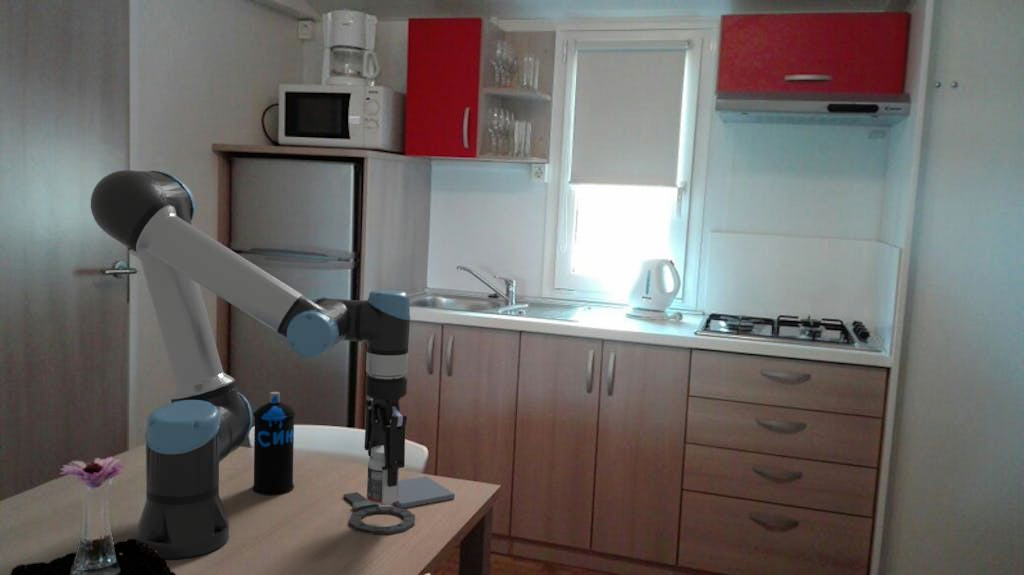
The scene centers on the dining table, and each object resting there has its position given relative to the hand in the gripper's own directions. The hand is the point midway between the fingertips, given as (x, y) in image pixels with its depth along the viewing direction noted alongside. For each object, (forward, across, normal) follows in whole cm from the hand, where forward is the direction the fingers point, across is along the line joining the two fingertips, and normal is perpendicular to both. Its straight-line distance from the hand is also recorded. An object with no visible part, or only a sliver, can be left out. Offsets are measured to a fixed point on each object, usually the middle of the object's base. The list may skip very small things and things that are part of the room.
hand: (382, 495), depth 159 cm
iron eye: (+5, +4, 0) cm, 7 cm away
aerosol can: (+5, +25, +13) cm, 29 cm away
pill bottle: (+1, 0, 0) cm, 1 cm away
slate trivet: (+5, +10, -12) cm, 16 cm away
